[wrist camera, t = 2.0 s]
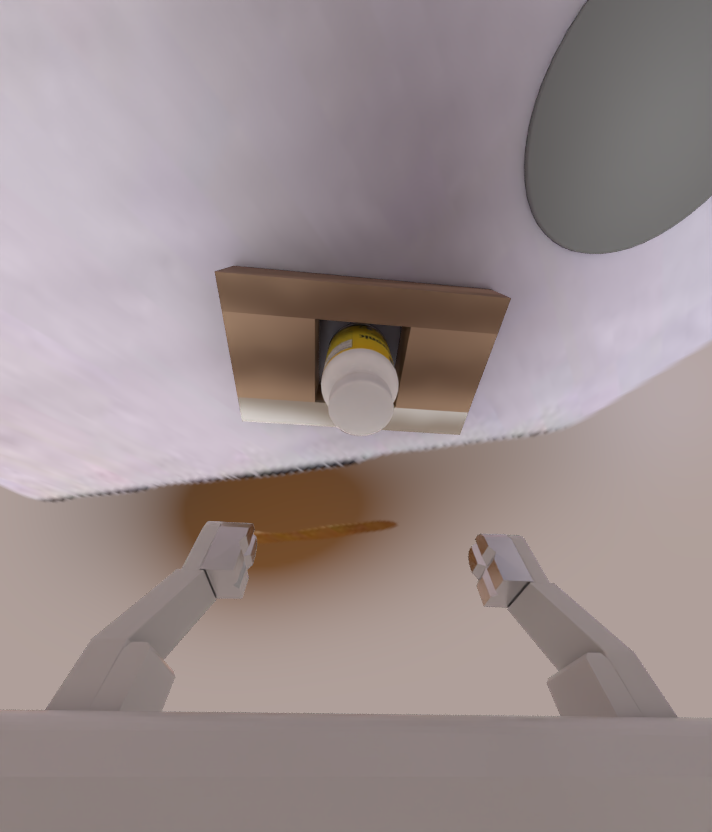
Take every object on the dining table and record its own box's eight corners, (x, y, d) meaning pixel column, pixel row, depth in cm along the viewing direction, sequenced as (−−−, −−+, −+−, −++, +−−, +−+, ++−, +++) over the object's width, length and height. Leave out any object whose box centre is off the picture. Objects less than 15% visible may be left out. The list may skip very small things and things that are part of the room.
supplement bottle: (400, 356, 25) (422, 417, 17) (353, 389, 27) (353, 458, 19) (364, 307, 22) (370, 351, 14) (315, 346, 24) (296, 405, 16)
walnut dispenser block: (233, 265, 21) (214, 271, 18) (490, 289, 22) (511, 298, 19) (253, 401, 27) (242, 421, 25) (449, 414, 28) (459, 434, 26)
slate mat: (605, -127, 12) (616, -143, 12) (888, -78, 13) (909, -90, 12) (492, 243, 20) (495, 244, 20) (671, 261, 21) (679, 262, 20)
